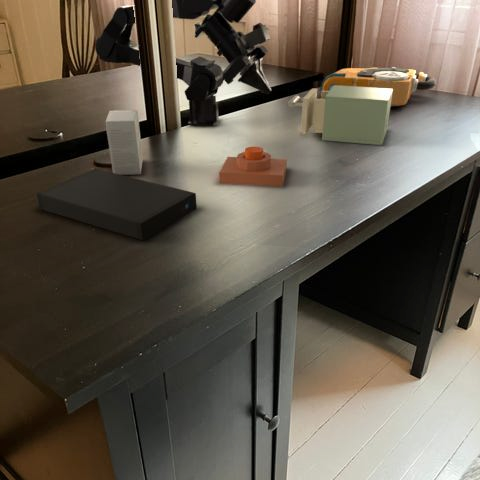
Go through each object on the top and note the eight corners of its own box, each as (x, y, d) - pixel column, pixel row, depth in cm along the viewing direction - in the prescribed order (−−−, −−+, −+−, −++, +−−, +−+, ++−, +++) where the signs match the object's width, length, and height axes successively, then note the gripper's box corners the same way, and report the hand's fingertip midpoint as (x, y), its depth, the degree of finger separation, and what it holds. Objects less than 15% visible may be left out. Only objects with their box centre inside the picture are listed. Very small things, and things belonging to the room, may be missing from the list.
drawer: (284, 132, 125) (285, 97, 121) (294, 120, 134) (296, 87, 129) (354, 138, 121) (358, 102, 117) (360, 125, 129) (364, 91, 125)
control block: (219, 183, 102) (218, 162, 99) (227, 167, 109) (227, 147, 107) (282, 186, 100) (283, 165, 98) (286, 170, 107) (287, 150, 105)
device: (336, 59, 162) (439, 64, 154) (333, 88, 167) (433, 94, 159) (320, 73, 144) (436, 79, 136) (318, 105, 149) (429, 113, 141)
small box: (116, 162, 112) (109, 109, 106) (143, 161, 112) (137, 109, 106) (112, 175, 105) (104, 121, 99) (141, 174, 106) (134, 120, 100)
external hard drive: (98, 183, 102) (96, 168, 100) (197, 209, 92) (196, 192, 90) (40, 209, 92) (36, 193, 90) (143, 241, 82) (140, 223, 80)
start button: (243, 161, 101) (243, 151, 100) (246, 154, 104) (246, 145, 103) (262, 161, 101) (262, 152, 100) (264, 155, 104) (264, 146, 103)
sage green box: (321, 140, 123) (325, 96, 118) (330, 126, 132) (334, 85, 127) (381, 145, 120) (388, 100, 114) (386, 131, 129) (393, 88, 123)
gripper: (235, 15, 111) (284, 75, 115) (260, 6, 125) (303, 60, 129) (201, 55, 118) (249, 111, 121) (229, 42, 132) (271, 92, 136)
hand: (269, 92), depth 127 cm, fingers closed
